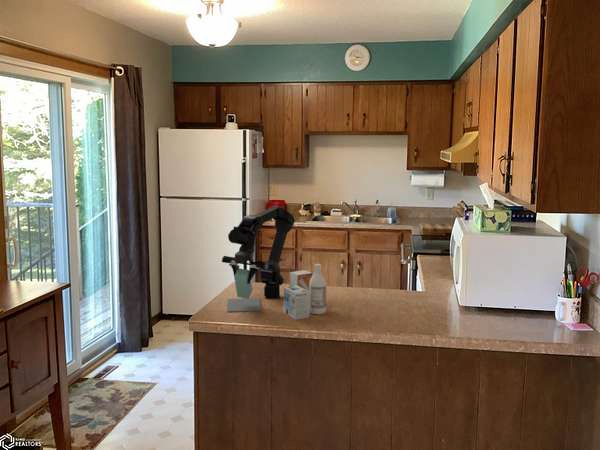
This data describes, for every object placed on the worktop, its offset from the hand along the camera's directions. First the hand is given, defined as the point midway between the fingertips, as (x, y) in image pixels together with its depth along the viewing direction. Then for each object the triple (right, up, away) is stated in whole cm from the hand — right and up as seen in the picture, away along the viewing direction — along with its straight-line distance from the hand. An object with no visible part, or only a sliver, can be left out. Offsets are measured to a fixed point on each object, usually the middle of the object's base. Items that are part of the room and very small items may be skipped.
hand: (241, 283), depth 225 cm
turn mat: (0, -10, +7) cm, 12 cm away
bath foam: (+31, -12, -2) cm, 33 cm away
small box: (+24, -10, +13) cm, 29 cm away
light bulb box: (+23, -13, -6) cm, 26 cm away
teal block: (+1, -5, +6) cm, 8 cm away
